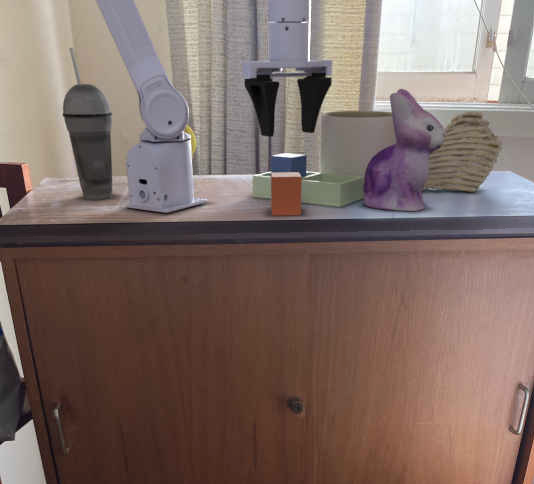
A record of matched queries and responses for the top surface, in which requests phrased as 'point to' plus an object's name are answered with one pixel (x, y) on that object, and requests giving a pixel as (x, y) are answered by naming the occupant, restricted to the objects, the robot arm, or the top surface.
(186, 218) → the top surface
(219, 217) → the top surface
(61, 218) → the top surface
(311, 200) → the tray
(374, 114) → the planter
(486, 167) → the fossil tooth
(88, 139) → the beverage cup
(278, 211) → the terracotta block
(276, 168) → the blue block
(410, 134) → the figurine
